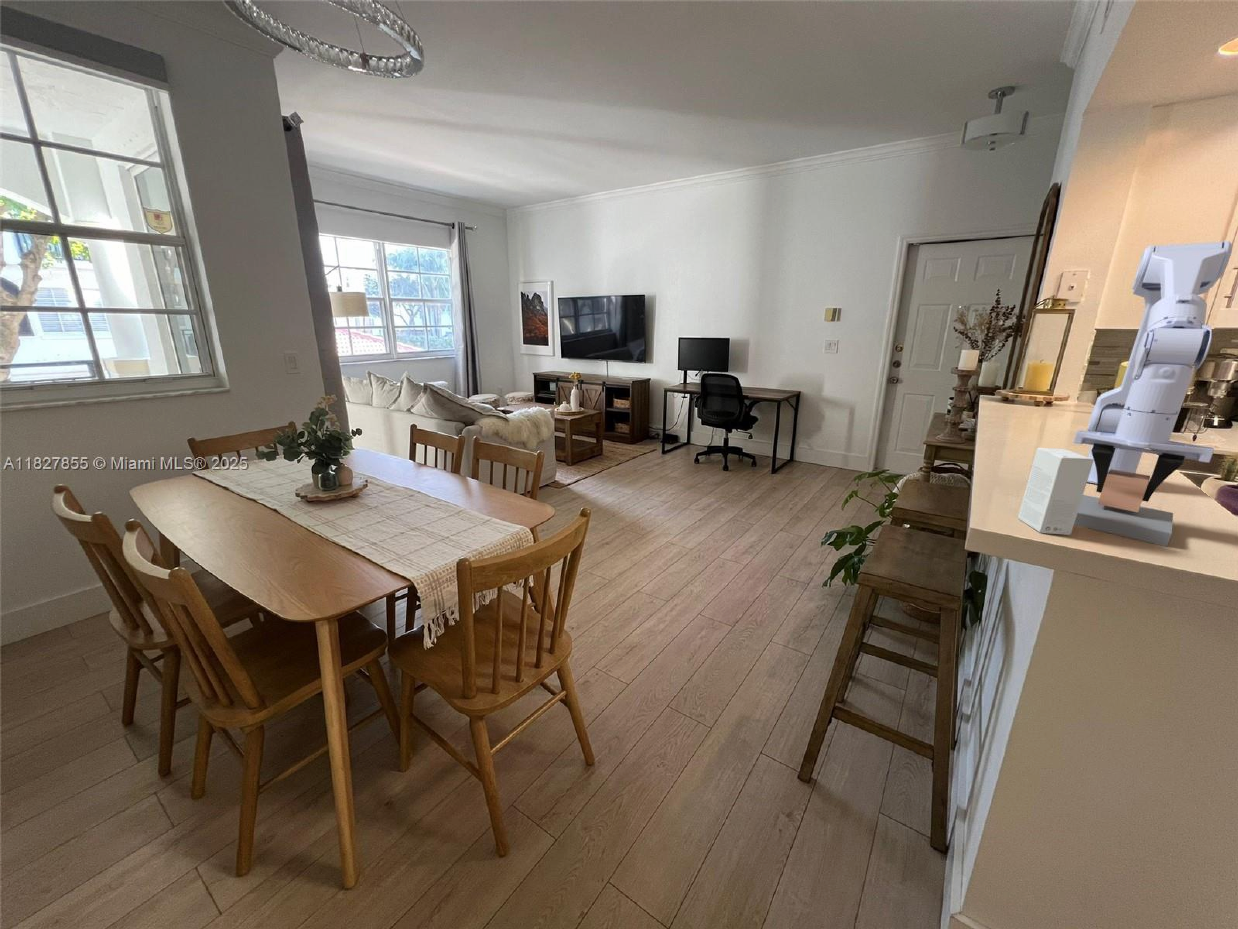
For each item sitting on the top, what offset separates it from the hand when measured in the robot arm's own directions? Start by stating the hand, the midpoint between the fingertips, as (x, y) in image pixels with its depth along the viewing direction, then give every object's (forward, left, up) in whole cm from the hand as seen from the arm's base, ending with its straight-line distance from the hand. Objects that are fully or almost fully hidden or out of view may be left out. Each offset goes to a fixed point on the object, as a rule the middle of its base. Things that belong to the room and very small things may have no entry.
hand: (1121, 495), depth 76 cm
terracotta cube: (0, 0, -2) cm, 2 cm away
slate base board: (+1, 0, -4) cm, 5 cm away
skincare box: (+12, -7, -5) cm, 15 cm away
